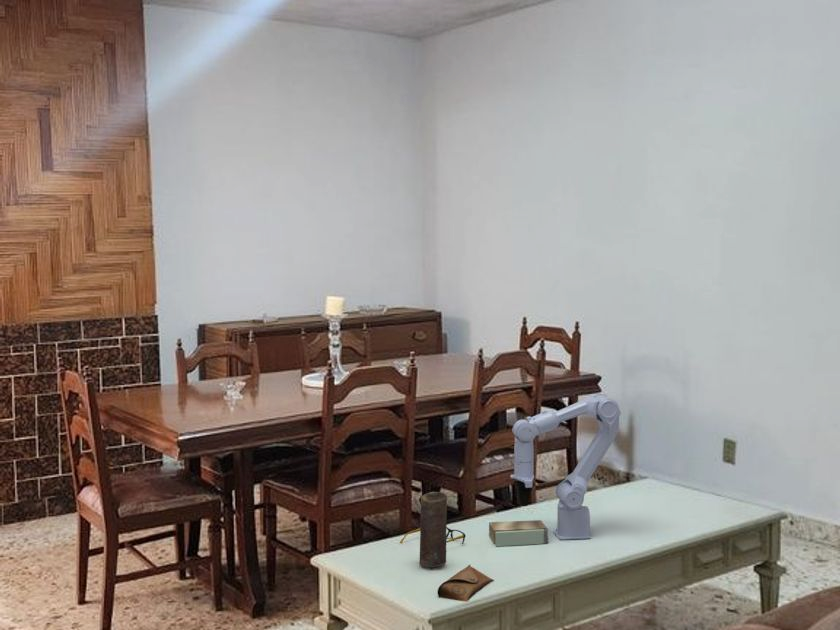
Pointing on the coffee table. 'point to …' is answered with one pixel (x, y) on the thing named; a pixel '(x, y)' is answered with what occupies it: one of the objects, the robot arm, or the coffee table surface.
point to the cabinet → (514, 526)
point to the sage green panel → (521, 537)
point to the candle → (433, 529)
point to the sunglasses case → (463, 584)
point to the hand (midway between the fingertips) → (523, 505)
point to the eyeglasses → (446, 535)
